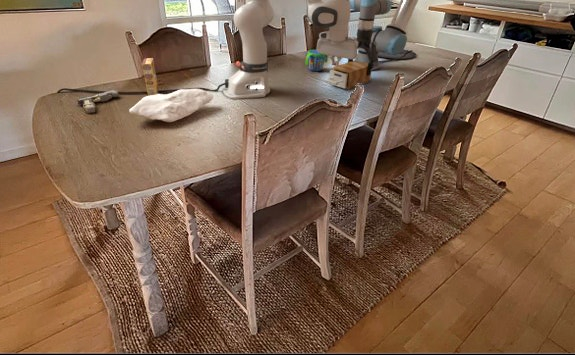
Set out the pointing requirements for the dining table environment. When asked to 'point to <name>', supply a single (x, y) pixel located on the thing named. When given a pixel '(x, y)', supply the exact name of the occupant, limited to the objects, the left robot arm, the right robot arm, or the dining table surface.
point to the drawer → (338, 78)
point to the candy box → (150, 76)
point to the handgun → (95, 100)
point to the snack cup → (315, 60)
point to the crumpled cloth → (171, 104)
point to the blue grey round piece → (408, 55)
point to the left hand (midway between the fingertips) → (335, 65)
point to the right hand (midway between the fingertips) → (358, 72)
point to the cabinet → (354, 72)
